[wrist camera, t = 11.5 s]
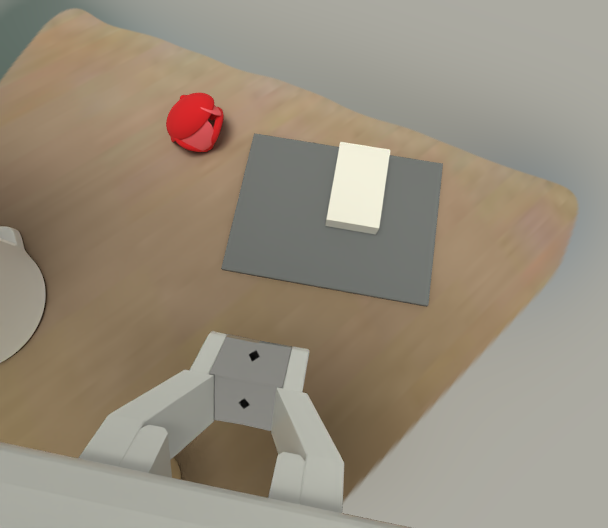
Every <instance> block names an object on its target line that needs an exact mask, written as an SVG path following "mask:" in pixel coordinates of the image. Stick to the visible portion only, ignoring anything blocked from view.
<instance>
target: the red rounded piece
mask: <svg viewBox="0 0 608 528" xmlns="http://www.w3.org/2000/svg"><path fill="white" fill-rule="evenodd" d="M223 117H224V116H223V111H222V109H221V108H219V107H216V106H215V105H214V100H213V98H212V97H211V96H209V95H208V94H205V93H193V94H190V95H182V96H181V97H180V100H179V101H178V102H177V103H176V104H175V105H174V106H173V107H172V109H171V110H170V112H169V114H168V117H167V122H166V126H167V131H168V133H169V135H170V136H171V140H172V142H174V141H176V142H177V143H178V144H179V145H180V146H181V147H183V148H185V149H187V150H190V151H195V152H207V151H208V150H211V149H212V148H213V145H214V144H215V142H216V140H217V138H218V136H219V133H220V130H221V127H222V123H223ZM208 119H210V120H215V123H214V127H212V125H211V124H210V122H209V121H208Z"/></svg>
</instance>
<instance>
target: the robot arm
mask: <svg viewBox="0 0 608 528" xmlns="http://www.w3.org/2000/svg"><path fill="white" fill-rule="evenodd" d="M45 296H46V293H45V284H44V279H43V276H42V274H41V271H40V270H39V268H38V266H37V265H36V263H35V262H34V261H33V260H32V259H31V257H30V256H29V255H28V254H27V253H26V251H25V249H24V245H23V241H22V238H21V235H20V233H19V231H18V230H16V229H14V228H11V227H7V226H0V363H1V362H2V361H4V360H6V359H8V358H9V357H11V356H12V355H13V354H15V353H16V352H17V351H18V350H19V349H20V348H21V347H22V346H23V345H24V344H25V343H26V342H27V341H28V340H29V339H30V337H31V336H32V334H33V333H34V331H35V330H36V328H37V326H38V324H39V322H40V319H41V317H42V314H43V310H44V305H45ZM308 356H309V349H304V348H299V347H292V346H287V345H281V344H275V343H270V342H264V341H258V340H253V339H249V338H244V337H239V336H234V335H230V334H223V333H219V332H214V331H212V332H210V333H209V334H208V336H207V338H206V340H205V342H204V344H203V346H202V348H201V349H200V351H199V353H198V355H197V357H196V359H195V361H194V363H193V365H192V366H191V368H190V370H183V371H181V372H180V373H178V374H176V375H175V376H173V377H171V378H170V379H168V380H166V381H164V382H163V383H161V384H159V385H158V386H156V387H154V388H153V389H151V390H149V391H148V392H146V393H144V394H143V395H141V396H139V397H137V398H136V399H134V400H132V401H131V402H129V403H127V404H126V405H124V406H122V407H121V408H119V409H117V410H115V411H114V412H112V413H110V414H109V415H108V416H107V417H106V419H105V420H104V422H103V423H102V425H101V426H100V428H99V429H98V431H97V432H96V433H95V435H94V436H93V438H92V439H91V441H90V442H89V444H88V445H87V447H86V448H85V449H84V451H83V452H82V454H81V455H80V457H79V458H75V457H70V456H65V455H60V454H55V453H51V452H46V451H41V450H36V449H31V448H27V447H22V446H17V445H12V444H8V443H3V442H0V528H411V527H406V526H401V525H396V524H392V523H386V522H382V521H377V520H372V519H368V518H363V517H358V516H353V515H348V514H344V513H342V504H343V480H344V462H343V460H342V458H341V456H340V454H339V452H338V450H337V448H336V447H335V445H334V443H333V441H332V439H331V437H330V435H329V433H328V431H327V430H326V428H325V426H324V424H323V422H322V420H321V418H320V416H319V415H318V413H317V411H316V409H315V407H314V405H313V403H312V401H311V400H310V398H309V396H308V394H307V393H303V386H304V380H305V374H306V368H307V362H308ZM214 420H218V421H224V422H230V423H236V424H242V425H246V426H251V427H255V428H260V429H264V430H268V431H271V433H272V437H273V440H274V443H275V446H276V449H277V452H278V457H277V461H276V466H275V470H274V475H273V479H272V484H271V488H270V493H269V497H268V498H267V497H262V496H257V495H252V494H247V493H242V492H238V491H233V490H228V489H223V488H218V487H214V486H209V485H204V484H199V483H194V482H190V481H185V480H180V479H175V478H172V472H171V461H170V460H171V459H172V458H173V457H174V456H175V455H177V454H178V453H179V452H180V451H181V450H182V449H183V448H184V447H186V446H187V445H188V444H189V443H190V442H191V441H192V440H193V439H195V438H196V437H197V436H198V435H199V434H200V433H201V432H202V431H204V430H205V429H206V428H207V427H208V426H209V425H210V424H211V423H212V422H214Z"/></svg>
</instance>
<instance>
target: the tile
mask: <svg viewBox="0 0 608 528" xmlns="http://www.w3.org/2000/svg"><path fill="white" fill-rule="evenodd" d="M389 156H390V150H388V149H382V148H376V147H370V146H363V145H357V144H351V143H345V142H340V146H339V152H338V158H337V163H336V169H335V174H334V180H333V185H332V191H331V197H330V202H329V208H328V213H327V219H326V226H328V227H334V228H340V229H346V230H352V231H358V232H363V233H369V234H375V235H376V233H377V231H378V230H379V226H380V219H381V212H382V205H383V198H384V191H385V184H386V177H387V170H388V163H389Z"/></svg>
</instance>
